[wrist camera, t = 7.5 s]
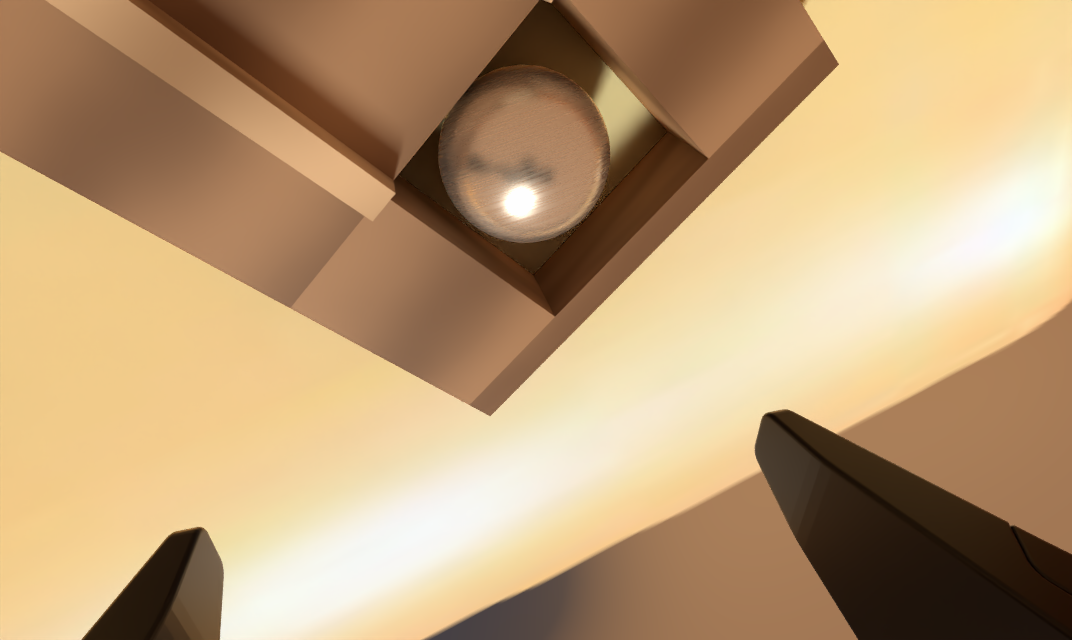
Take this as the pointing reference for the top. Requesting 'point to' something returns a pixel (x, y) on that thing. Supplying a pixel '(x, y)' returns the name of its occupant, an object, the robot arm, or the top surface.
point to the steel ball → (524, 153)
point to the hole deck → (382, 150)
